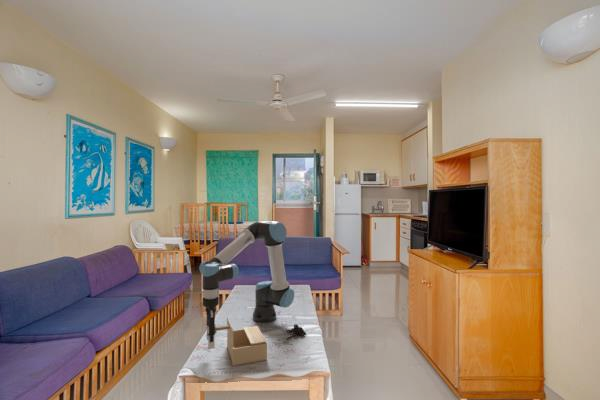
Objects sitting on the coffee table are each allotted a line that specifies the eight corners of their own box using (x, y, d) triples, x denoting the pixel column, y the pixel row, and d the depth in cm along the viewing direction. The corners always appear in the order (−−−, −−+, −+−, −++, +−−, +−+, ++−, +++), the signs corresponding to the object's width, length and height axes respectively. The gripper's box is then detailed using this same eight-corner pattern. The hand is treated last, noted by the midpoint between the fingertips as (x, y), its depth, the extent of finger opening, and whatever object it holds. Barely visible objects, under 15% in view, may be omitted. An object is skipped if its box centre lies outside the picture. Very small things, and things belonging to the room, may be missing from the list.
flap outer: (227, 330, 160) (208, 333, 157) (227, 316, 160) (208, 319, 157) (233, 347, 143) (212, 351, 139) (233, 331, 142) (211, 334, 139)
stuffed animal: (307, 328, 183) (305, 323, 173) (305, 346, 177) (304, 342, 168) (287, 326, 184) (284, 321, 174) (285, 344, 179) (282, 340, 169)
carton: (227, 346, 161) (227, 329, 161) (257, 341, 166) (257, 325, 166) (233, 366, 142) (233, 347, 142) (266, 360, 148) (267, 341, 148)
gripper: (201, 291, 156) (200, 335, 157) (204, 305, 136) (203, 355, 137) (216, 289, 159) (216, 333, 159) (221, 303, 139) (221, 352, 139)
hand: (210, 343), depth 148 cm, fingers open, 9 cm apart
